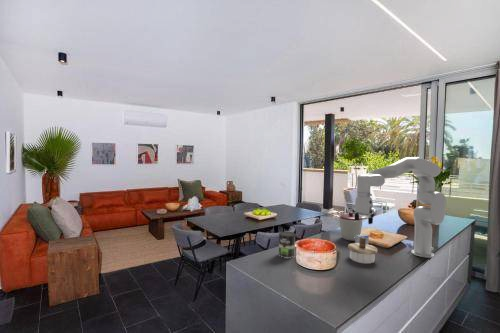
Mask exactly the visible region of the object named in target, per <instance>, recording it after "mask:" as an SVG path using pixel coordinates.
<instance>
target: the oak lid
mask: <svg viewBox="0 0 500 333" xmlns="http://www.w3.org/2000/svg"><path fill="white" fill-rule="evenodd" d="M347 249H348V250H349V251H350V250H351V251H353V252H356V253H360V254H375V255H376V254H377V253H378V248H377V247H376V246H374V245H372V244H369V243H368V244H366V238H364V237H360V239H359V243H355V242H352V243H348V244H347Z"/></svg>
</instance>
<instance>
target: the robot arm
mask: <svg viewBox="0 0 500 333" xmlns="http://www.w3.org/2000/svg"><path fill="white" fill-rule="evenodd" d="M411 171H412V173H413V174H414V175H415V176H416V177H417V179H418V181H419V182H418V183H419V186H418V187H419V188H418V194H417V200H418V202H419V203H420V204H422V205H423V206H421V205H419V206H416V207H415V208H414V209H413V212H412V214H413V219H414V238H413V239H414V240H413V241H414V243H413V249H412V250H411V251H410V252H411V254H412V255H414V256H418V257H420V258H426V259H427V258H429V259H431V258H434V257H435V254H434V252H432V251H433V250H434V247H433V246H432V243H433V226H432V225H441V224H442V223H443V222H444V220H445V214H446V206H447V198H446V195H445V194H444V193H442V192H440V191H436V181H435V179H434V178H436V177H438V176H439V175H440V173H441V167H440V166H439V164H437V163H435V162H432V161H430V160H428V159H425V158H424V157H423V158H422V157H418V156H414V157H413V156H411V157H410V156H407V157H404V158H402V159H400V160H397V161H396V162H394V163H392V164H389V165H386V166H382V167H379V168H376V169H374V170H371V171H369V172H367V173H366V174H359V175H358V174H357V177H356V191H357V192H356V196H355V203H354V205H352V206H350V207H351V210H352V211H351V212H352V213H353V215H355V221H357V220H359V216H360V214H365V215H367V216H368V220H367V224H368V225H372V224H373V222H374V221H373V220H374V218H375V216H376V215H377V212H378V211H377V210H376V209H375V208H374V203H373V198H372V196H373V195H372V193H371V187H376V188H378V187H382V186H383V185H384V184H385V181H386V180H385V179H394V178H398V177H401V176H402V175H404V174H405V173H408V172H411ZM424 205H425V206H424ZM428 206H430V207H428ZM359 213H360V214H359Z"/></svg>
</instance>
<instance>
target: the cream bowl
mask: <svg viewBox="0 0 500 333" xmlns="http://www.w3.org/2000/svg"><path fill="white" fill-rule="evenodd" d="M375 255H376V254H360V253H356V252H353V251H351V250H349V259H351V261H352V262H356V263H359V264H373V263H375V261H376V260H375V258H376V256H375Z"/></svg>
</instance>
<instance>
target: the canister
mask: <svg viewBox="0 0 500 333" xmlns="http://www.w3.org/2000/svg"><path fill="white" fill-rule="evenodd" d="M338 219H339V229H340V230H339V231H340V236H341V238H342V239H343V240H346V241H350V242H351V241H352V242H355V238H354V237H355V235H360V234H361V235H362V228H363V221H364V218H363V217H361V216H360V215H359V220H357V221H355V214H354V212H353V211H350V212H348V214H341V215H339V216H338Z"/></svg>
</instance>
